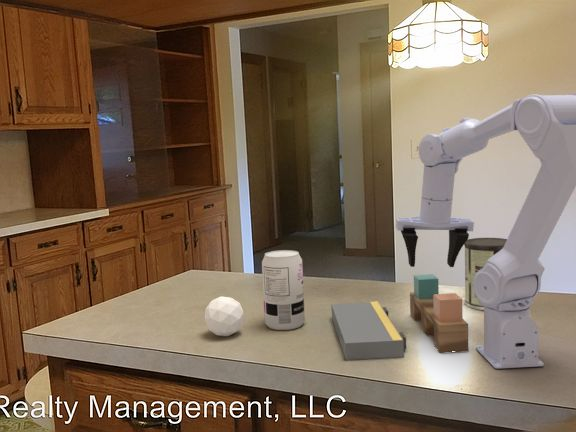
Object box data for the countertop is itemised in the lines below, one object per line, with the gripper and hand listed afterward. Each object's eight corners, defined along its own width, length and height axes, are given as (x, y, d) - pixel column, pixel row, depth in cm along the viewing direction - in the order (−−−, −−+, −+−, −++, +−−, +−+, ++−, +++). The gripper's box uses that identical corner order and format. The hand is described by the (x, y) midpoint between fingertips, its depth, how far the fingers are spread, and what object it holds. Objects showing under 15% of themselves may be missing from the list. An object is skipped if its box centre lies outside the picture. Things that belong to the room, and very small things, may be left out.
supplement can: (259, 322, 124) (255, 252, 122) (295, 316, 127) (292, 248, 125) (273, 333, 116) (270, 259, 114) (311, 327, 120) (308, 254, 118)
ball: (215, 349, 117) (189, 318, 117) (239, 324, 123) (214, 295, 122) (235, 338, 112) (207, 306, 111) (258, 313, 117) (232, 282, 117)
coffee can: (509, 298, 133) (509, 236, 132) (517, 311, 123) (518, 245, 122) (462, 297, 136) (461, 237, 134) (466, 310, 126) (466, 245, 124)
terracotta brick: (462, 321, 103) (462, 299, 103) (439, 322, 103) (439, 300, 103) (455, 314, 107) (455, 293, 107) (433, 315, 107) (433, 294, 107)
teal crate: (438, 298, 118) (438, 278, 118) (418, 299, 118) (418, 279, 118) (433, 293, 122) (432, 274, 122) (414, 294, 122) (413, 275, 122)
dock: (409, 356, 101) (409, 339, 101) (345, 360, 101) (345, 342, 101) (383, 315, 125) (383, 301, 125) (331, 317, 125) (331, 303, 124)
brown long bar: (468, 351, 102) (468, 323, 102) (439, 353, 102) (439, 325, 102) (433, 314, 124) (433, 291, 124) (410, 315, 124) (409, 292, 124)
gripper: (468, 193, 116) (461, 258, 119) (394, 192, 115) (390, 258, 119) (480, 201, 109) (472, 271, 112) (402, 200, 109) (397, 270, 112)
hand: (430, 265), depth 115 cm, fingers open, 7 cm apart
